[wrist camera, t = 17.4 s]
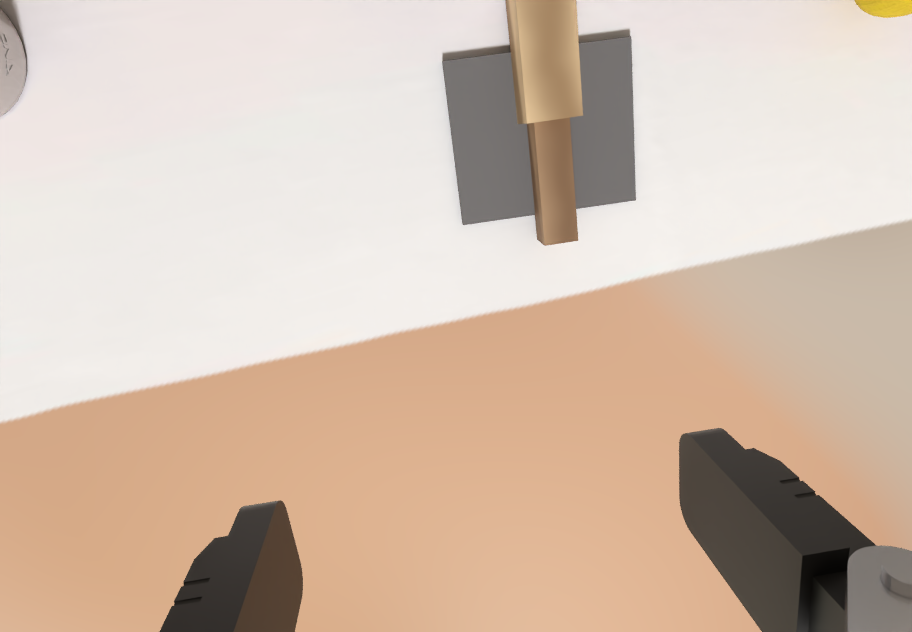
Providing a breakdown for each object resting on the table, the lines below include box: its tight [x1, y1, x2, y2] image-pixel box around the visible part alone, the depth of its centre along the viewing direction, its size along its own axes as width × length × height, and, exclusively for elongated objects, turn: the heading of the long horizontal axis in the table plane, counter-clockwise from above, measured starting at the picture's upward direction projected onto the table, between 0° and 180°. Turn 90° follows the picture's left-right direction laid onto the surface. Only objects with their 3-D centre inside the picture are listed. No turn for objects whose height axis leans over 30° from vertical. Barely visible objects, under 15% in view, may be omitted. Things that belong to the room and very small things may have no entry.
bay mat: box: [442, 37, 636, 225], centre depth 44 cm, size 14×12×1 cm
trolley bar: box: [506, 0, 583, 246], centre depth 42 cm, size 4×18×4 cm, turn 8°
